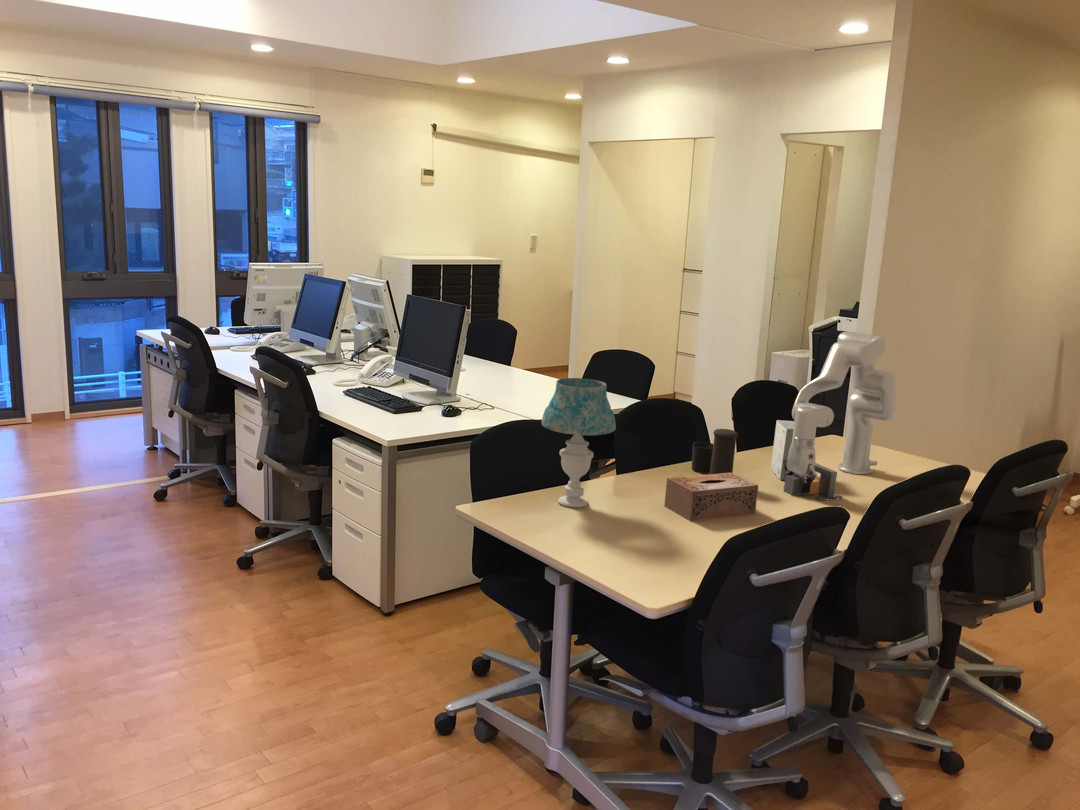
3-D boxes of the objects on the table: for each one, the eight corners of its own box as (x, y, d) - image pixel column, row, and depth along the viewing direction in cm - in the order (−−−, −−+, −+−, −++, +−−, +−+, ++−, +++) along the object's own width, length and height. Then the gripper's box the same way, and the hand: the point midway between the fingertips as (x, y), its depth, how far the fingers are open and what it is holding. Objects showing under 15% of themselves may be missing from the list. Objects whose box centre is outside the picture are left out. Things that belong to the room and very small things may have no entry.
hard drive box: (800, 481, 319) (807, 430, 315) (779, 480, 319) (786, 428, 315) (789, 470, 334) (795, 420, 330) (769, 468, 334) (775, 419, 330)
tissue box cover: (689, 521, 269) (692, 491, 266) (664, 507, 281) (667, 478, 279) (755, 514, 280) (758, 485, 277) (727, 500, 292) (730, 472, 290)
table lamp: (571, 487, 295) (579, 373, 287) (624, 506, 279) (634, 385, 270) (521, 500, 279) (528, 379, 270) (574, 520, 262) (583, 393, 254)
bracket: (808, 483, 318) (811, 457, 316) (841, 498, 302) (845, 471, 299) (786, 485, 314) (789, 458, 312) (819, 500, 298) (822, 473, 296)
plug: (819, 488, 312) (821, 473, 311) (827, 492, 308) (830, 476, 306) (783, 491, 306) (785, 475, 304) (792, 495, 302) (794, 479, 300)
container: (734, 482, 313) (740, 429, 309) (729, 488, 305) (735, 434, 301) (711, 478, 317) (717, 425, 313) (705, 484, 309) (711, 430, 304)
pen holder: (719, 470, 328) (721, 445, 326) (709, 475, 320) (712, 449, 318) (696, 465, 333) (698, 440, 331) (686, 470, 325) (689, 445, 323)
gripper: (828, 448, 295) (821, 496, 298) (795, 435, 310) (789, 481, 314) (811, 449, 292) (804, 497, 295) (778, 436, 307) (773, 482, 311)
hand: (797, 489), depth 304 cm, fingers open, 8 cm apart
